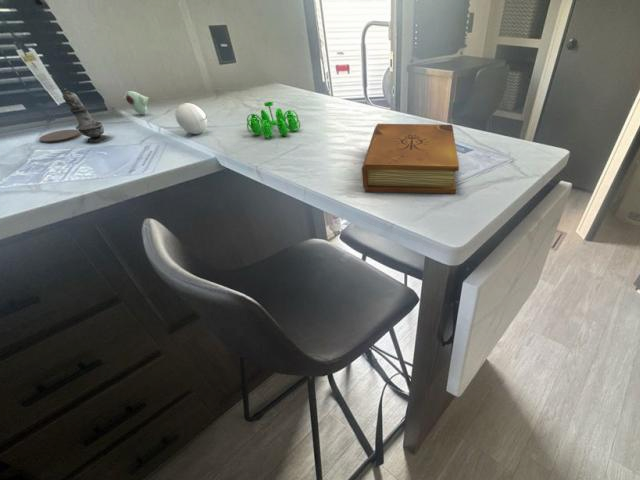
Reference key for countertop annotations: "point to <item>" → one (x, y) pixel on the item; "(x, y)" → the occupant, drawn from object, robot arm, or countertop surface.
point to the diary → (411, 159)
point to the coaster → (60, 136)
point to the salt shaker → (85, 119)
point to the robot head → (136, 101)
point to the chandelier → (272, 122)
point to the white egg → (191, 118)
